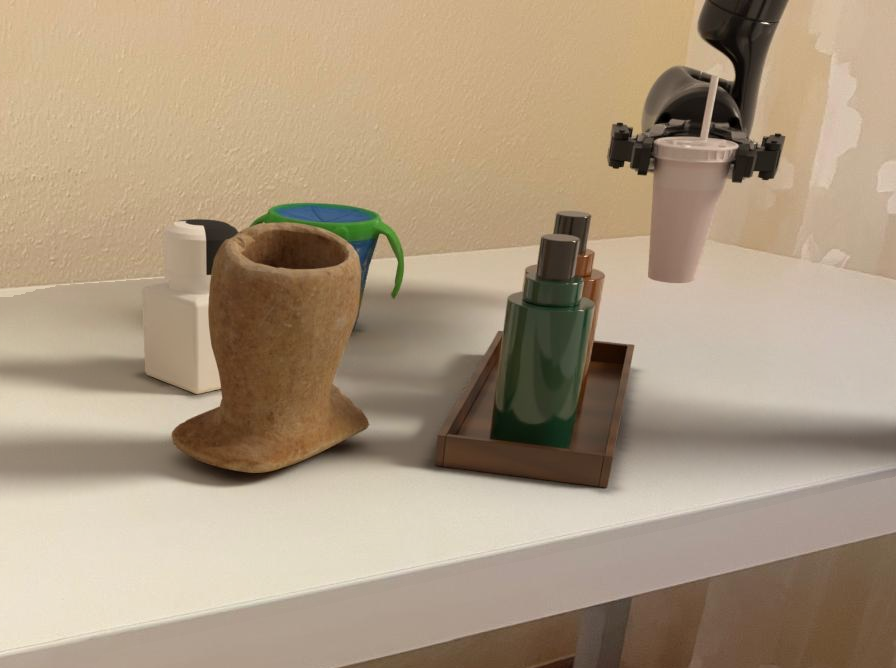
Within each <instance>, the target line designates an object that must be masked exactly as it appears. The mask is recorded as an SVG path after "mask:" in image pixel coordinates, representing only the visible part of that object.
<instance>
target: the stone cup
mask: <svg viewBox="0 0 896 668" xmlns="http://www.w3.org/2000/svg"><path fill="white" fill-rule="evenodd" d="M238 232H239V233H237V234H236V235H235V236H233V237H232V238H230V239H226V240H225V241H224V242H223V243H222V245H221V246H220V248H219V250H218V251H217V253H216V255H215V258H214V262H213V267H212V272H211V280H210V291H209V305H208V319H209V331H210V339H211V346H212V350H213V353H214V357H215V360H216V364H217V367H218V372H219V377H220V384H221V389H220V392H221V400H220V404H219V406H217V407H215V408H212V409H210V410H208V411H205V412H203V413H200V414H197V415H195V416H193V417H190V418H188V419H186V420H185V421H184V422H183V421H182V423H181V422H180V424H178V425H176V427H175V428H174V429H173V430H172V431H171V440H172V443H173V445H174V446H175V448H176V449H178V450H180V451H181V453H184V454H185V455H187V456H189V457H190V458H193V459H195V460H196V461H199V462H202V463H205V464H207V465H209V466H213V467H218V468H221V469H225V470H231V471H235V472H243V473H249V474H256V473H259V474H261V473H268V472H273V471H277V470H280V469H283V468H286V467H289V466H292V465H295V464H297V463H299V462H302V461H305V460H306V459H309V458H311V457H314V456H316V455H318V454H320V453H322V452H324V451H325V450H328V449H330V448H332V447H334V446H336V445H338V444H340V443H342V442H344V441H346V440H348V439H350V438H352V437H354V436H356V435H358V434H360V433H362V432H363V431H365V430H367V429H368V427H369V426H370V421H369V419H368V417H367V416H366V415H365V414H364V412H363V410H362V409H361V408H360V407H357V405H356V404H355V403H354V402H353V401H352V400H351V399H350V398H349V397H348V396H347V395H345V394H343V393H342V392H341V390H340V388H339V387H338V386H336V385H335V384H334V381H335V377H336V375H337V372H338V368H339V366H340V363H341V360H342V358H343V355H344V352H345V350H346V347H347V344H348V341H349V339H350V337H351V334H352V332H353V330H354V328H353V327H354V324H355V320H356V317H357V313H358V309H359V298H360V284H361V266H360V260H359V255H358V254H357V252H356V251H355V249H354V247H353V246H352V245H351V244H349V243H348V242H347V241H346V240H345V239H343V238H341V237H340V236H338V235H336V234H334V233H332V232H330V231H328V230H325V229H322V228H319V227H314V226H309V225H305V224H299V223H289V222H285V223H264V222H263V223H260V224H257V225H254V226H251V227H249V226H248V227H245V228H244V229H242V230H240V231H238Z"/></svg>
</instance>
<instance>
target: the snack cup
mask: <svg viewBox="0 0 896 668" xmlns="http://www.w3.org/2000/svg"><path fill="white" fill-rule="evenodd" d="M285 222H289V223H299V224H305V225H309V226H314V227H319V228H322V229H325V230H328V231H330V232H332V233H334V234H336V235H338V236H340V237H341V238H343V239H345V240H346V241H347V242H348V243H349V244H351V245H352V246H353V247H354V249H355V251H356V252H357V254H358V255H359V260H360V266H361V284H360V298H359V309H358V313H357V317H356V320H355V324H354V327H353V329H356V326H357V324H358V321H359V318H360V313H361V307H362V303H363V298H364V294H365V288H366V284H367V279H368V274H369V271H370V265H371V263H372V259H373V256H374V253H375V249H376V246H377V243H378V240H379V237H380V235H384V236H385V237H386V238H387V239H386V240H387V241H388V243H389V245H390V247H391V249H392V252H393V254H394V256H395V258H396V261H397V265H396V272H395V277H394V287H393V289H392V292H391V293H390V296H391V298H392V300H393V299H394V300H395V299H396V297H397V296H398V294H399V292H400V290H401V286H402V283H403V280H404V274H405V257H404V251H403V246H402V243H401V240H400V239H399V236H398V235H397V233H396V231H395V230H394V229H393V228H392V227H391V226H389V225H388V224H386V223H385V222H384V221H383V220H382V218H381V215H380V214H379V213H377V212H375V211H373V210H370V209H367V208H363V207H358V206H357V207H356V206H352V205H348V204H347V205H346V204H338V203H337V204H336V203H324V202H295V203H282V204H277V205H274V206H272V207H270V208H269V209H268V211H267V213H265V214H262V215H260V216H259V217H257V218H256V219H255V220H253V221H252V222H251V224H250V225H249V226H248V227H251V226H254V225H257V224H260V223H285Z"/></svg>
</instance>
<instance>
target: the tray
mask: <svg viewBox="0 0 896 668" xmlns="http://www.w3.org/2000/svg"><path fill="white" fill-rule="evenodd" d="M502 336H503V330H498V331H497V332H496V334H495V336H494V337H493V340H492V341H491V343H490V345H489V346H488V347H487V350H486V352H484V355H483V356H482V358H481V360H480V362H479V363H478V365H477V367H476V368H475V369H474V372H473V374H472V376H471V377H470V379H469V381H468V382H467V384H466V386H465V387H464V390H463V391H462V393H461V394H460V396H459V398H458V399H457V402H456V403H455V405H454V406H453V408H452V410H451V411H450V413H449V415H448V417H447V418H446V420H445V422H444V424H443V426H441V429H440V431H439V432H438V434H437V438H436V447H435V455H434V466H436V467H445V468H452V469H458V470H467V471H474V472H481V473H482V472H483V473H489V474H490V473H491V474H496V475H497V474H498V475H506V476H513V477H522V478H528V479H529V478H530V479H536V480H537V479H538V480H544V481H551V482H560V483H567V484H576V485H581V486H582V485H583V486H589V487H591V486H592V487H599V488H605V489H607V488H608V486H609V481H610V477H611V470H612V466H613V460H614V455H615V449H616V444H617V440H618V435H619V429H620V424H621V420H622V419H621V418H622V413H623V408H624V404H625V403H624V402H625V398H626V393H627V387H628V382H629V377H630V372H631V366H632V360H633V356H634V351H635V344H630V343H622V342H621V343H619V342H612V341H602V340H594V343H593V349H592V354H591V360H590V366H589V372H588V378H587V383H586V389H585V395H584V401H583V407H582V410H581V411H580V412H578V413H577V415H576V421H575V426H574V432H573V438H572V444H571V449H565V448H557V447H549V446H541V445H532V444H524V443H516V442H508V441H500V440H492V439H489V437H490V429H491V421H492V414H493V406H494V398H495V390H496V383H497V375H498V367H499V359H500V352H501V344H502Z"/></svg>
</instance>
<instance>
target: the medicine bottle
mask: <svg viewBox="0 0 896 668" xmlns="http://www.w3.org/2000/svg"><path fill="white" fill-rule="evenodd" d="M239 232H240V231H239V230H238V229H237V228H236V227H235V226H233V225H231V224H229V223H227V222H225V221H222V220H216V219H206V218H204V219H203V218H194V219H193V218H192V219H182V220H177V221H174V222H173V223H171V224H169V225H167V226H166V227H165V228H164V230H163V231H162V241H163V242H162V243H163V276H164V278H165V279H167V280H168V281H166V282H159V283H154V284H153V283H152V284H147V285H144V286H143V287H142V289H141V297H142V299H141V300H142V323H143V324H142V325H143V347H144V349H143V350H144V351H143V352H144V371H145V374H146V375H147V376H149V377H151V378H153V379H156V380H159V381H161V382H164V383H167V384H169V385H171V386H175V387H177V388H179V389H182V390H185V391H188V392H190V393H192V394H195V395H200V394H204V393H209V392H213V391H217V390H221V384H220V377H219V372H218V367H217V364H216V360H215V357H214V353H213V350H212V346H211V339H210V331H209V319H208V305H209V291H210V280H211V272H212V267H213V262H214V258H215V255H216V253H217V251H218V250H219V248H220V246H221V245H222V243H223V242H224V241H225V240H226V239H230V238H232V237H233V236H235V235H236V234H237V233H239Z"/></svg>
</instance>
